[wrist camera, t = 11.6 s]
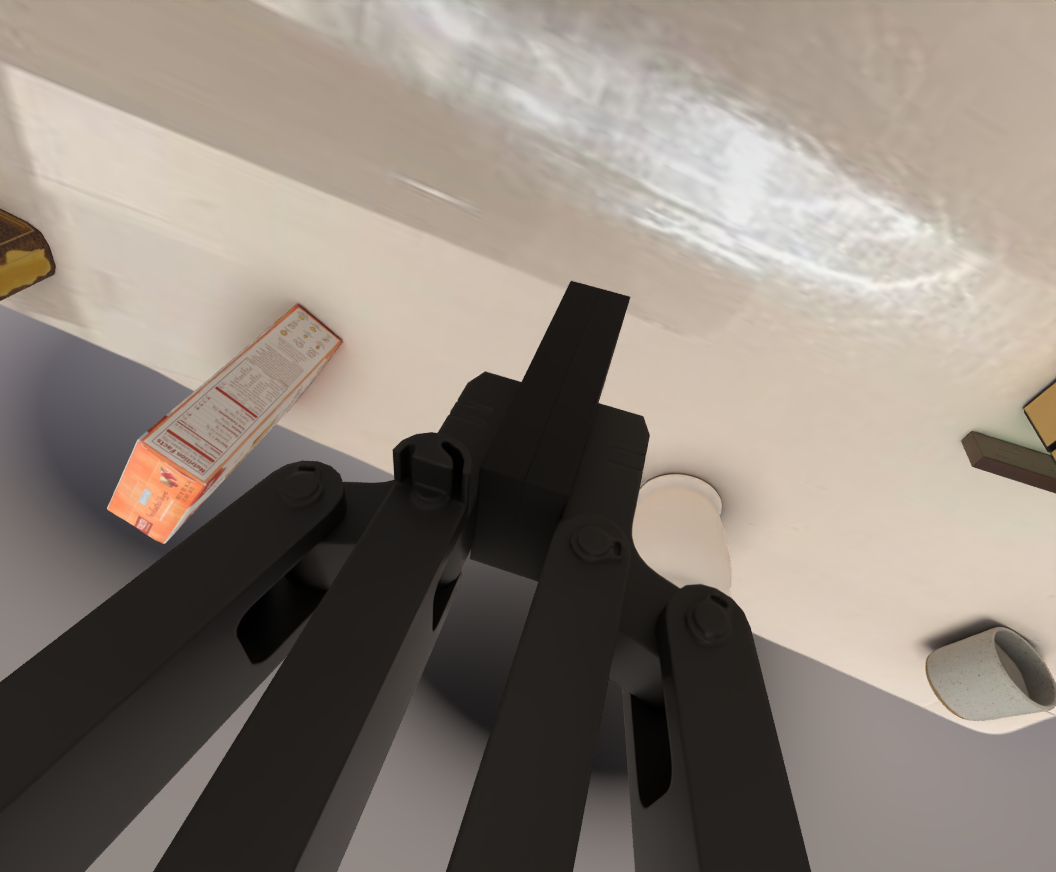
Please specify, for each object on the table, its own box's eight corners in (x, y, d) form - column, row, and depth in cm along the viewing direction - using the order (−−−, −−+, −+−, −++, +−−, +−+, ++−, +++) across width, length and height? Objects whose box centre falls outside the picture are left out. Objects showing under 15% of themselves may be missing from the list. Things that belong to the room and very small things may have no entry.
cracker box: (296, 407, 65) (163, 548, 50) (251, 373, 63) (99, 508, 48) (348, 342, 56) (205, 491, 41) (298, 300, 54) (129, 439, 39)
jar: (685, 448, 53) (669, 579, 42) (755, 510, 55) (758, 648, 45) (607, 492, 60) (577, 614, 49) (673, 546, 62) (658, 673, 52)
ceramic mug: (911, 641, 61) (929, 712, 56) (982, 613, 56) (1009, 688, 50) (990, 681, 62) (1014, 754, 57) (1067, 657, 57) (1102, 735, 51)
